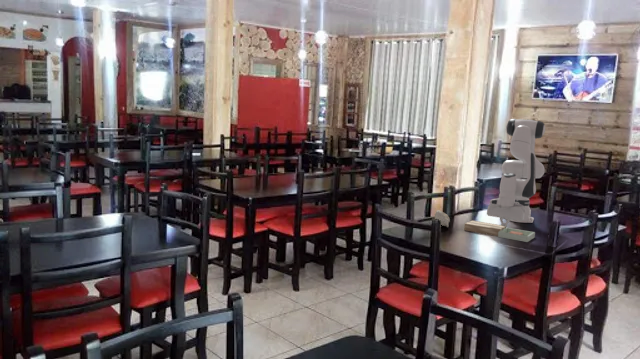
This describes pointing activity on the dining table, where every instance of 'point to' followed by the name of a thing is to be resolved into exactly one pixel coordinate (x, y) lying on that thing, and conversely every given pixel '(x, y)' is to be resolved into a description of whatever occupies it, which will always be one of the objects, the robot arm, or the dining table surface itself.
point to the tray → (526, 234)
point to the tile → (516, 233)
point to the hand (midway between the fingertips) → (504, 226)
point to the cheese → (442, 218)
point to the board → (483, 227)
